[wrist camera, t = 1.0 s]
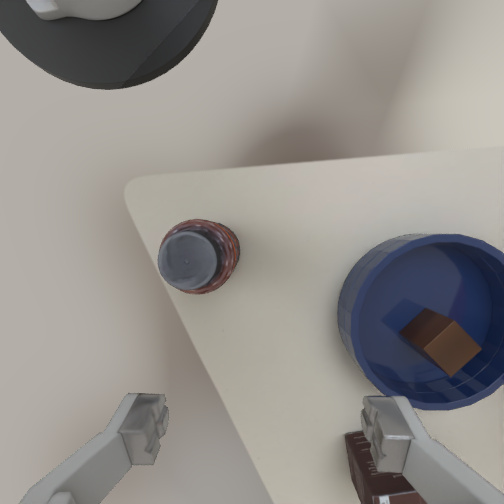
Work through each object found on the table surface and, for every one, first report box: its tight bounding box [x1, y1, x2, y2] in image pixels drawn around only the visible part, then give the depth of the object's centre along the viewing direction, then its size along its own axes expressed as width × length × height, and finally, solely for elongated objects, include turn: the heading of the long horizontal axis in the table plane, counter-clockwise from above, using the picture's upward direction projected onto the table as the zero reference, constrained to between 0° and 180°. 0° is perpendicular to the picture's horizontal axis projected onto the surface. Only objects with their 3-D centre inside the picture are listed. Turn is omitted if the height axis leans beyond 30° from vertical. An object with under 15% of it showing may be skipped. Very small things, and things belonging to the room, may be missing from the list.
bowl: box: [337, 234, 504, 410], centre depth 26 cm, size 18×18×4 cm
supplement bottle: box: [158, 219, 240, 294], centre depth 22 cm, size 6×6×11 cm
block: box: [399, 308, 482, 377], centre depth 26 cm, size 4×4×4 cm
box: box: [345, 431, 427, 504], centre depth 26 cm, size 6×6×7 cm
